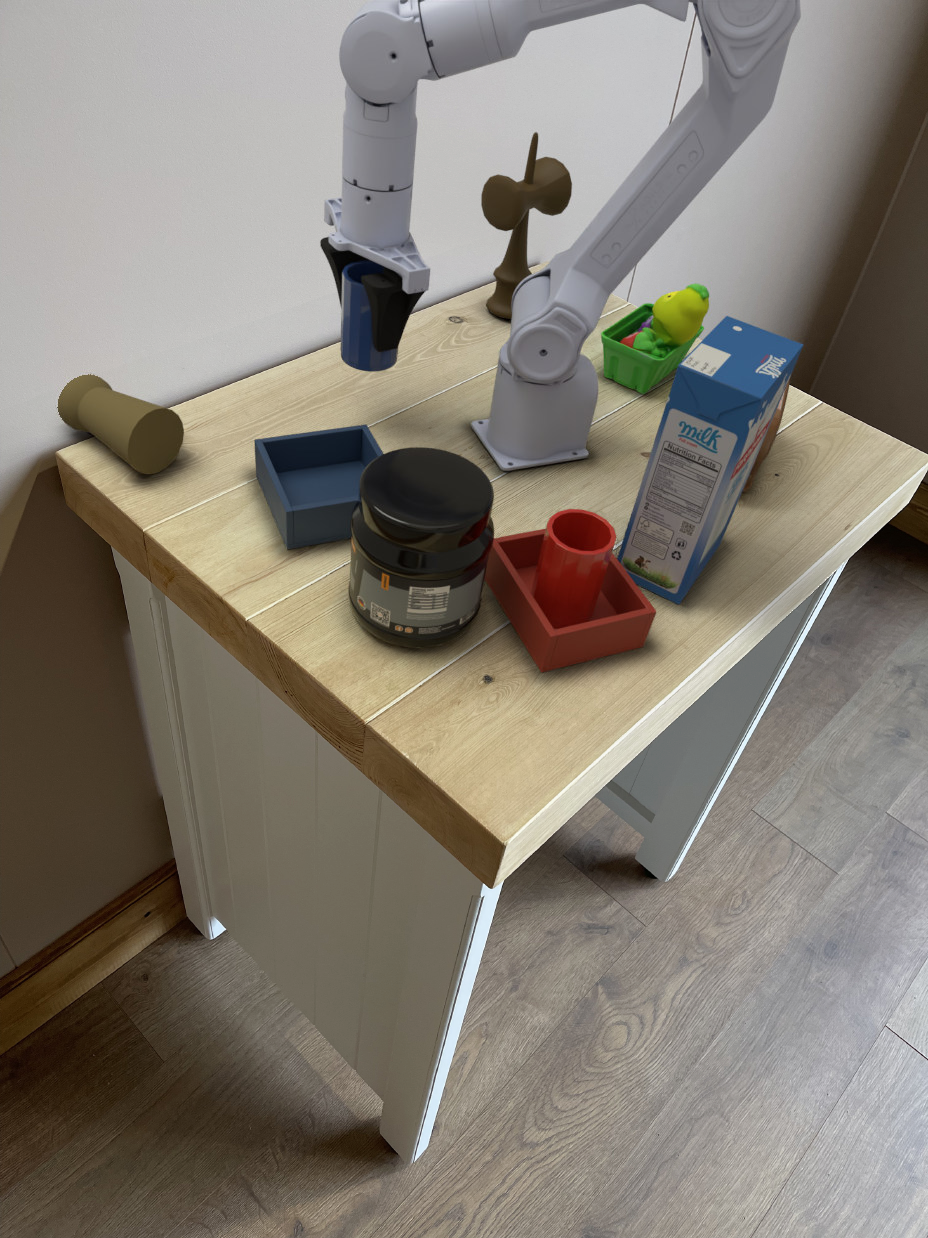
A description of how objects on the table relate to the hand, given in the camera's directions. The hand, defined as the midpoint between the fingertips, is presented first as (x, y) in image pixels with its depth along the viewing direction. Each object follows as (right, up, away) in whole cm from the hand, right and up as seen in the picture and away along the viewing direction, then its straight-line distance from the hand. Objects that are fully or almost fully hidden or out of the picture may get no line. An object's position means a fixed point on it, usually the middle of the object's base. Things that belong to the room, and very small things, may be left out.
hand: (370, 332), depth 84 cm
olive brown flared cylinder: (-18, -11, -5) cm, 21 cm away
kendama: (+14, +10, +26) cm, 31 cm away
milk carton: (+26, -21, -3) cm, 34 cm away
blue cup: (0, -2, +2) cm, 2 cm away
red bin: (+16, -25, -9) cm, 31 cm away
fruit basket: (+29, +1, +20) cm, 35 cm away
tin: (+36, -11, +9) cm, 39 cm away
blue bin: (-3, -16, -3) cm, 16 cm away
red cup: (+16, -25, -9) cm, 31 cm away
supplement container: (+4, -25, -10) cm, 28 cm away
